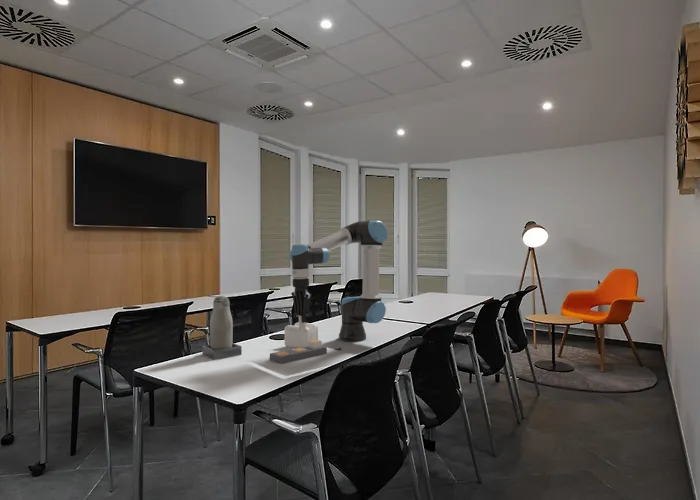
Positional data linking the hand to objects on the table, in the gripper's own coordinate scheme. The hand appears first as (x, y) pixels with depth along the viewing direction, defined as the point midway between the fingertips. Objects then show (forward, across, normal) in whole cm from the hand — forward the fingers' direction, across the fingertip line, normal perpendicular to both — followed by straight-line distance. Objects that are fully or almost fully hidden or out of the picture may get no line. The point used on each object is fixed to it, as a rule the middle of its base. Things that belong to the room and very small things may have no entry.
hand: (302, 329), depth 196 cm
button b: (+12, 0, -2) cm, 12 cm away
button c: (+12, 0, -11) cm, 17 cm away
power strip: (+13, 0, +4) cm, 14 cm away
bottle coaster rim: (+13, -33, -24) cm, 43 cm away
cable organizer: (+14, -18, +12) cm, 26 cm away
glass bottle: (+13, -33, -24) cm, 43 cm away
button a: (+10, 0, +7) cm, 12 cm away
